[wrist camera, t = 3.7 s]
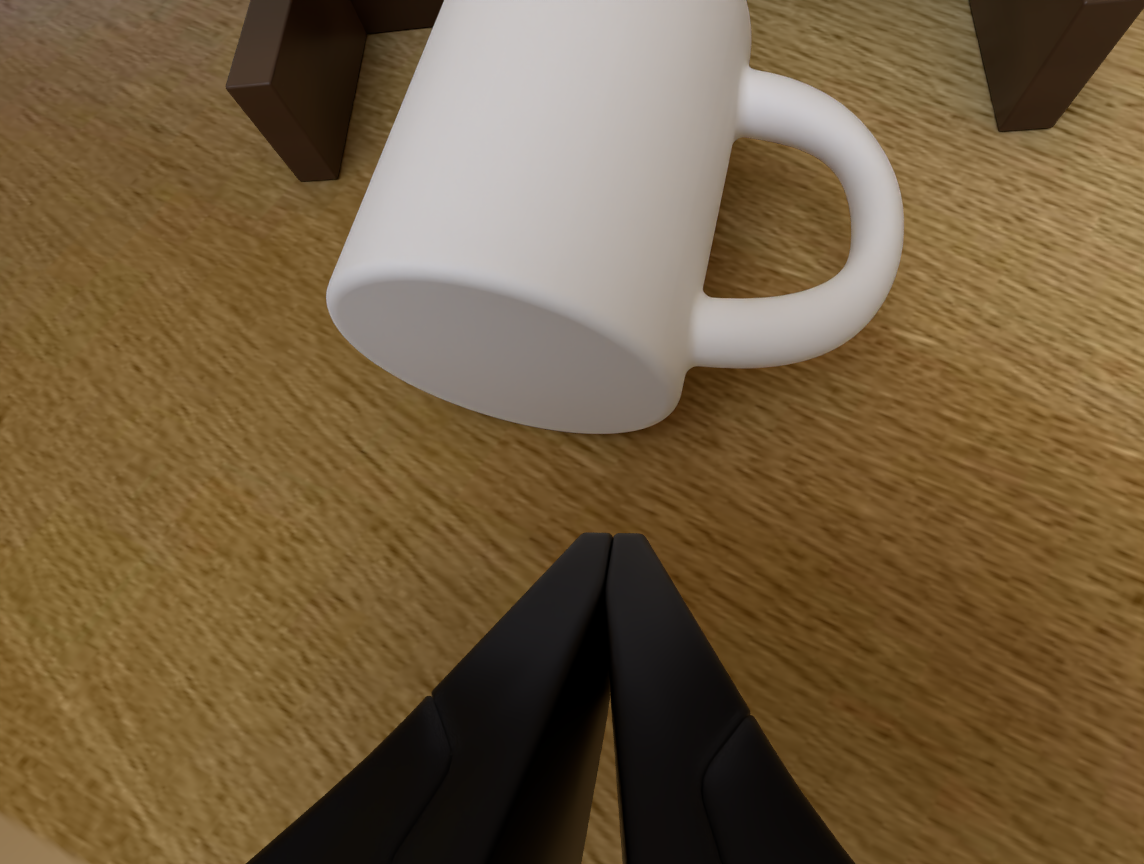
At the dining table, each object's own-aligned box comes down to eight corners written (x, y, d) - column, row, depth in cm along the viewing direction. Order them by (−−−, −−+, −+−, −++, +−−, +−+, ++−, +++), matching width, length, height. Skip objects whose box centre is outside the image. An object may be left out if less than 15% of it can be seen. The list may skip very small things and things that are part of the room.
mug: (411, 405, 18) (235, 244, 11) (501, 142, 21) (411, -132, 13) (828, 486, 16) (980, 350, 8) (867, 175, 18) (1006, -137, 11)
